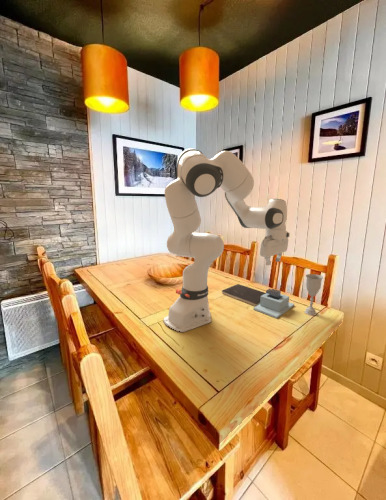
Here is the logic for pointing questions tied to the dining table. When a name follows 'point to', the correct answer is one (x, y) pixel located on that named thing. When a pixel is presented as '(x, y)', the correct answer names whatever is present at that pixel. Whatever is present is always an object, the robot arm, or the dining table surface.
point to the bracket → (274, 293)
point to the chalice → (312, 290)
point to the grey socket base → (273, 305)
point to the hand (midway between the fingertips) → (273, 263)
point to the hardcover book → (244, 294)
